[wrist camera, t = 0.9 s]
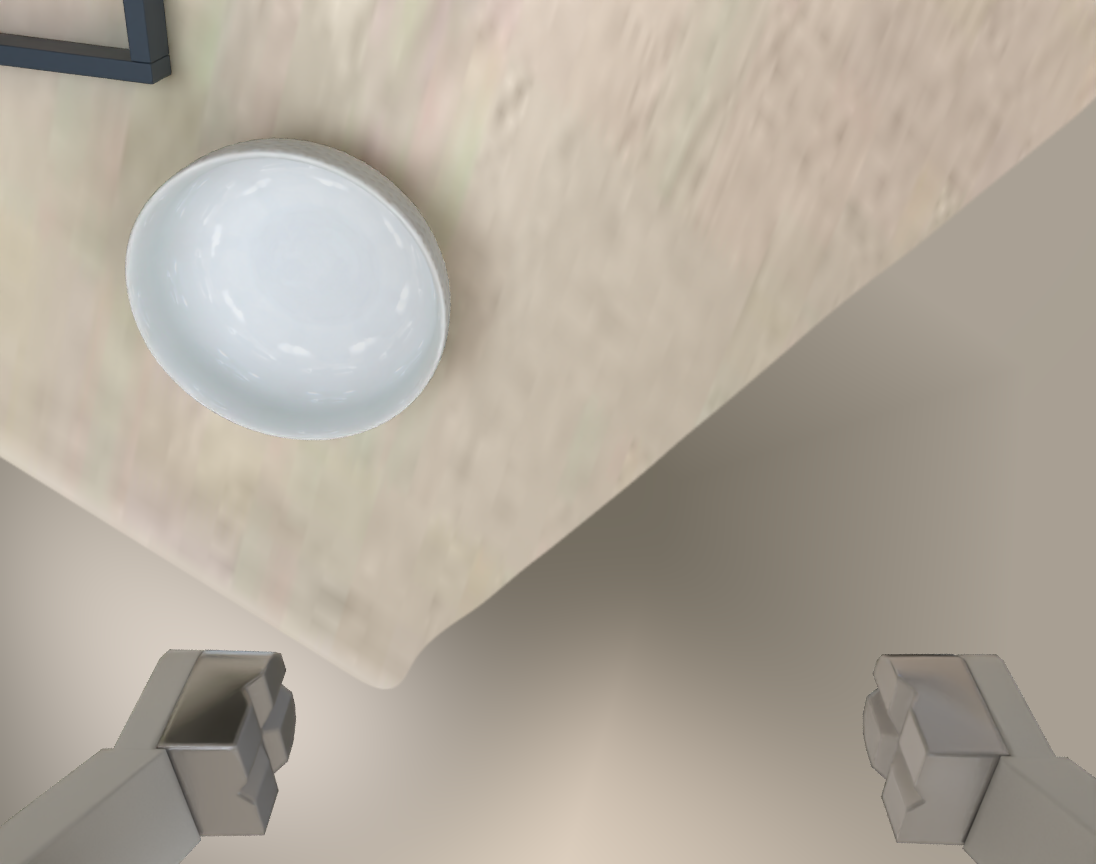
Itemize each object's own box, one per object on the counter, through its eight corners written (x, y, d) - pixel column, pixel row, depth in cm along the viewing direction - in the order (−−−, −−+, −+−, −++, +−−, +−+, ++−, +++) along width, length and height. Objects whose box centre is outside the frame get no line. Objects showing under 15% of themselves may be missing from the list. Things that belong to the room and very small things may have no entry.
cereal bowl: (432, 96, 47) (412, 131, 41) (482, 368, 56) (471, 429, 50) (129, 133, 49) (67, 172, 43) (225, 392, 58) (185, 454, 52)
